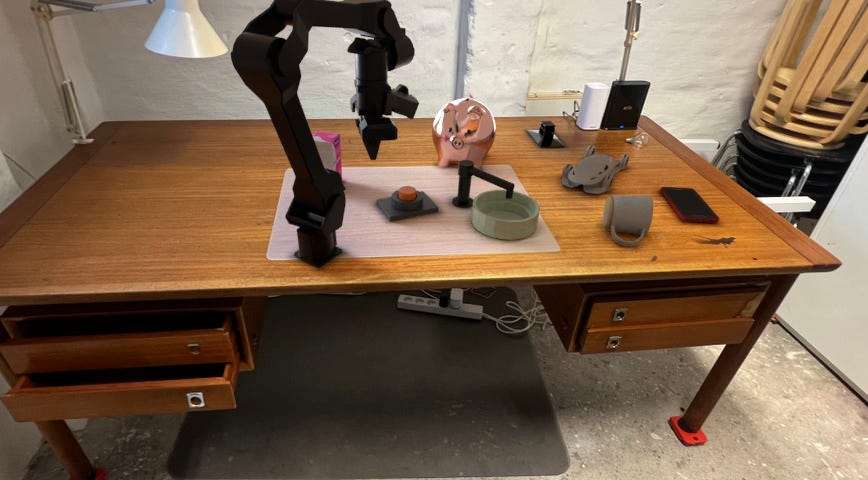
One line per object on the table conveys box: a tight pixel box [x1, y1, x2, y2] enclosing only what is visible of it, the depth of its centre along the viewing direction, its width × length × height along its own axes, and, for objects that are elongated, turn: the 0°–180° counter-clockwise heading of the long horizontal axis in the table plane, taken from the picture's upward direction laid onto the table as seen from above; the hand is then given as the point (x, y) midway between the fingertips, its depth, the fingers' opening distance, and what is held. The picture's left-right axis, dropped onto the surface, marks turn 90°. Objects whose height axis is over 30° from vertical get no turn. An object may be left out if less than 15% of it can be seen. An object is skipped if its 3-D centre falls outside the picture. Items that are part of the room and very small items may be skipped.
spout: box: [457, 160, 516, 199], centre depth 103 cm, size 14×3×3 cm, turn 44°
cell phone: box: [659, 186, 720, 224], centre depth 112 cm, size 8×15×1 cm, turn 177°
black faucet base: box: [451, 175, 474, 209], centre depth 109 cm, size 5×5×6 cm
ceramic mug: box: [602, 194, 654, 248], centre depth 100 cm, size 11×8×8 cm
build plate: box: [526, 120, 566, 149], centre depth 141 cm, size 12×7×5 cm, turn 7°
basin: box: [470, 189, 541, 241], centre depth 103 cm, size 13×13×4 cm
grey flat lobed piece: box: [561, 145, 630, 195], centre depth 122 cm, size 11×24×5 cm, turn 146°
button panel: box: [375, 189, 439, 222], centre depth 107 cm, size 11×8×3 cm
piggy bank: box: [431, 93, 497, 170], centre depth 124 cm, size 15×18×16 cm
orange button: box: [398, 185, 417, 201], centre depth 106 cm, size 4×4×2 cm
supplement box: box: [312, 130, 343, 179], centre depth 113 cm, size 6×6×12 cm
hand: (373, 159), depth 99 cm, fingers closed
